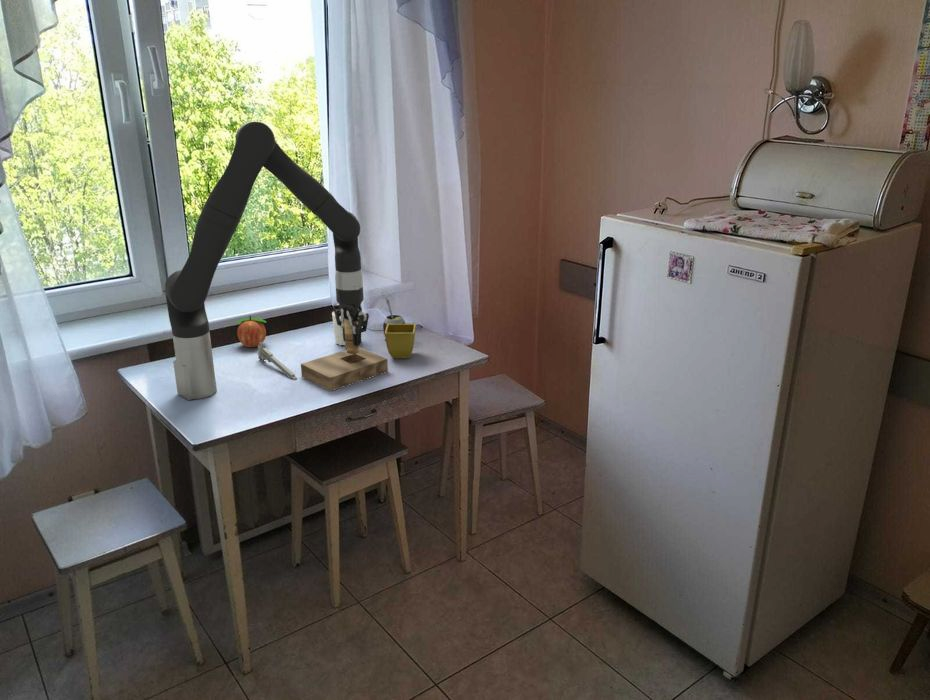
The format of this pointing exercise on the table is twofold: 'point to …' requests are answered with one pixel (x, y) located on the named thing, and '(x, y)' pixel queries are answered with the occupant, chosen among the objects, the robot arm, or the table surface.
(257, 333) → the fruit
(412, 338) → the flower pot
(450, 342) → the table surface
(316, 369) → the board
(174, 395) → the table surface
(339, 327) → the white cup
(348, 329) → the peg
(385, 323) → the mate gourd
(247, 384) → the table surface
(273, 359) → the caliper
